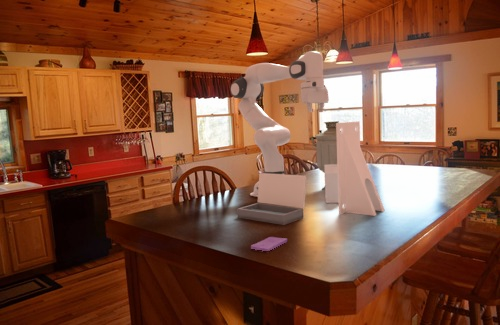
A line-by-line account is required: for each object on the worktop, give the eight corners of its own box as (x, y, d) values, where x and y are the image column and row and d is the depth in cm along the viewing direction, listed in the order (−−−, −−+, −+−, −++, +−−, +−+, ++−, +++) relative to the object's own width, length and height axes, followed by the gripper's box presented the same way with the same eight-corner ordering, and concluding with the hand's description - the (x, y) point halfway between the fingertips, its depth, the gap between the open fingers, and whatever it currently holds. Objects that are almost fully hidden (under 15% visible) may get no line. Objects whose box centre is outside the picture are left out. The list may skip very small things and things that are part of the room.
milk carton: (340, 203, 199) (338, 165, 197) (325, 203, 201) (324, 165, 199) (339, 200, 206) (338, 163, 204) (325, 200, 208) (324, 163, 206)
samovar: (372, 188, 236) (370, 119, 232) (341, 194, 221) (338, 121, 217) (335, 183, 260) (332, 121, 256) (304, 188, 246) (302, 123, 242)
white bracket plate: (369, 218, 167) (367, 121, 163) (338, 214, 177) (336, 123, 173) (389, 208, 182) (387, 120, 178) (359, 205, 192) (357, 121, 188)
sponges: (250, 251, 135) (250, 245, 134) (270, 240, 145) (270, 235, 145) (268, 254, 131) (268, 248, 130) (287, 243, 141) (287, 238, 141)
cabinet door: (259, 172, 191) (261, 173, 192) (257, 202, 191) (259, 202, 192) (305, 175, 174) (307, 175, 175) (303, 208, 173) (305, 207, 175)
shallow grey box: (237, 217, 181) (237, 208, 180) (258, 211, 191) (257, 202, 191) (284, 225, 163) (283, 215, 163) (303, 217, 174) (303, 208, 173)
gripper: (320, 85, 210) (321, 112, 211) (298, 84, 194) (299, 113, 196) (331, 84, 205) (332, 111, 207) (309, 83, 190) (310, 112, 192)
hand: (315, 112), depth 201 cm, fingers open, 8 cm apart
